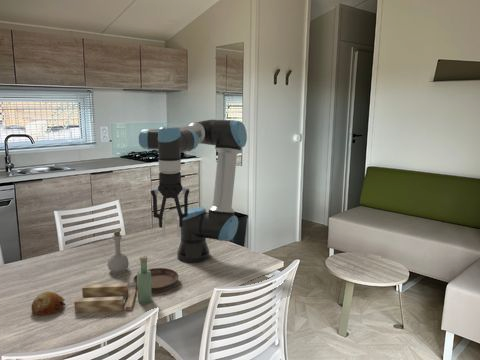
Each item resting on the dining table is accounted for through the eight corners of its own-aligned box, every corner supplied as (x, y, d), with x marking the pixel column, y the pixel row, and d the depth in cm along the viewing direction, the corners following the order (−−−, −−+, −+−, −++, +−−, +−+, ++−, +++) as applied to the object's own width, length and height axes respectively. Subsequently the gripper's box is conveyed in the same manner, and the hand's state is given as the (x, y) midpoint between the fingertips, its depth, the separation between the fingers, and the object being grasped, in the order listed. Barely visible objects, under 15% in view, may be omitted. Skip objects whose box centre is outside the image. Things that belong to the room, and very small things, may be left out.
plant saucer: (157, 298, 152) (157, 291, 152) (124, 286, 161) (123, 279, 161) (187, 281, 167) (187, 274, 166) (155, 271, 176) (155, 264, 175)
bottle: (152, 296, 153) (151, 254, 149) (151, 303, 148) (149, 259, 145) (138, 297, 152) (137, 254, 149) (137, 304, 147) (135, 260, 144)
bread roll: (45, 311, 149) (34, 293, 147) (71, 299, 148) (59, 281, 147) (34, 326, 139) (22, 307, 137) (61, 313, 139) (49, 294, 137)
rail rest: (136, 292, 156) (135, 282, 155) (131, 309, 143) (130, 299, 142) (84, 294, 154) (83, 284, 153) (75, 312, 141) (74, 301, 140)
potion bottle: (123, 275, 171) (121, 234, 167) (104, 273, 172) (101, 233, 169) (133, 267, 179) (131, 228, 175) (114, 265, 181) (112, 226, 177)
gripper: (195, 169, 147) (195, 231, 151) (145, 170, 144) (147, 233, 149) (195, 173, 139) (196, 238, 144) (142, 173, 137) (145, 239, 142)
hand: (171, 235), depth 146 cm, fingers open, 4 cm apart
